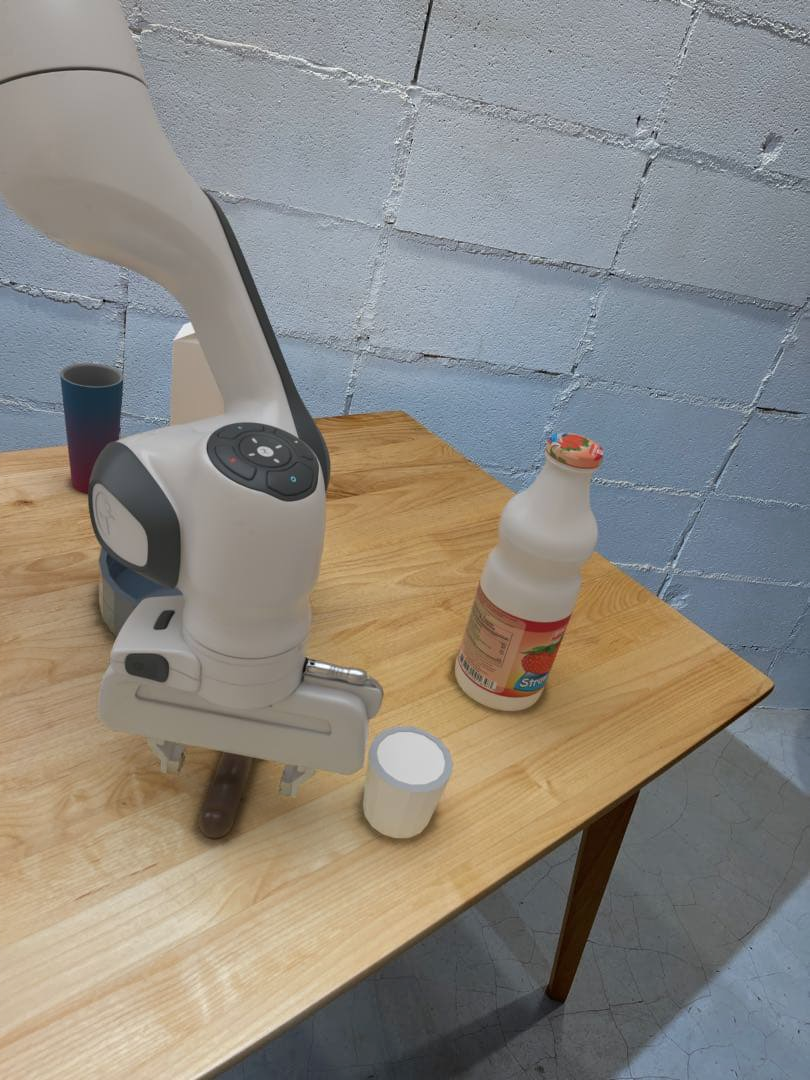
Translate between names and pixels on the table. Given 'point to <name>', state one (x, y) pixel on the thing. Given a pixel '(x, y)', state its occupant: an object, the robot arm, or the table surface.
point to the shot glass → (404, 780)
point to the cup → (90, 415)
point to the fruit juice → (531, 580)
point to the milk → (192, 381)
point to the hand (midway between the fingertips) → (231, 778)
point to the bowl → (124, 591)
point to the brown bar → (224, 794)
